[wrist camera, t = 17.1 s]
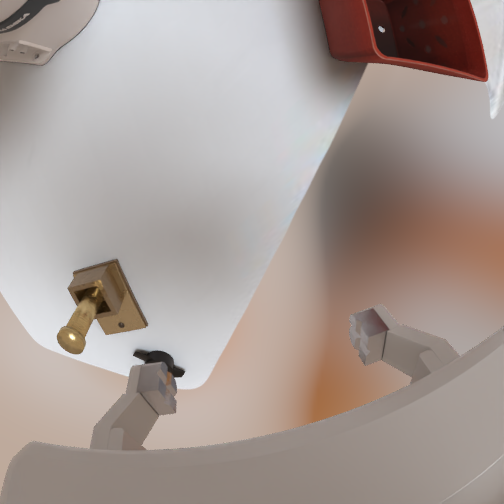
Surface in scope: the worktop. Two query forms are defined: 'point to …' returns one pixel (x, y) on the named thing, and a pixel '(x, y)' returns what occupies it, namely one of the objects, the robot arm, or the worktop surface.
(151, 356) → the black ring with tabs
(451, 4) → the plant pot
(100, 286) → the brass socket plate
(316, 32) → the worktop surface
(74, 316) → the hinge pin
